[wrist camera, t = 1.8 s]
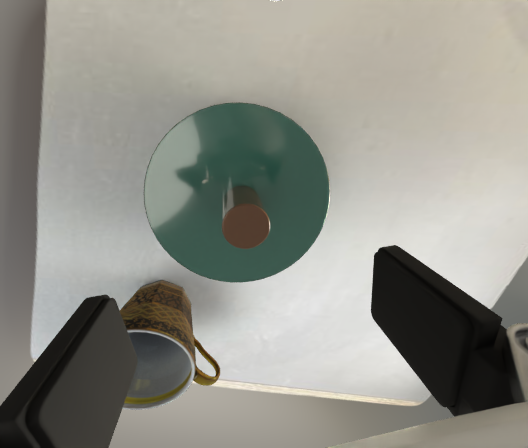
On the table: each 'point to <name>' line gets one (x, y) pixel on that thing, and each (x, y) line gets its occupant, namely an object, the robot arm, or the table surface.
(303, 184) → the lid
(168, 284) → the ceramic cup
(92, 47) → the table surface
